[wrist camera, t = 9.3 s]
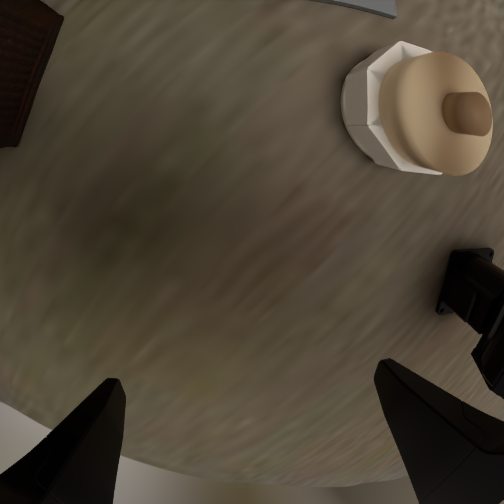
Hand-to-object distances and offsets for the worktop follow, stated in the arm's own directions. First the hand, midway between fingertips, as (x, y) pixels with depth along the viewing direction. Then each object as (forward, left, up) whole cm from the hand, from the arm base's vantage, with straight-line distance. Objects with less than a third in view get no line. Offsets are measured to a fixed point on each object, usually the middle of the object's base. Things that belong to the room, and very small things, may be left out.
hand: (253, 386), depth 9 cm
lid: (-11, -10, -8) cm, 17 cm away
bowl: (-11, -10, -12) cm, 19 cm away
